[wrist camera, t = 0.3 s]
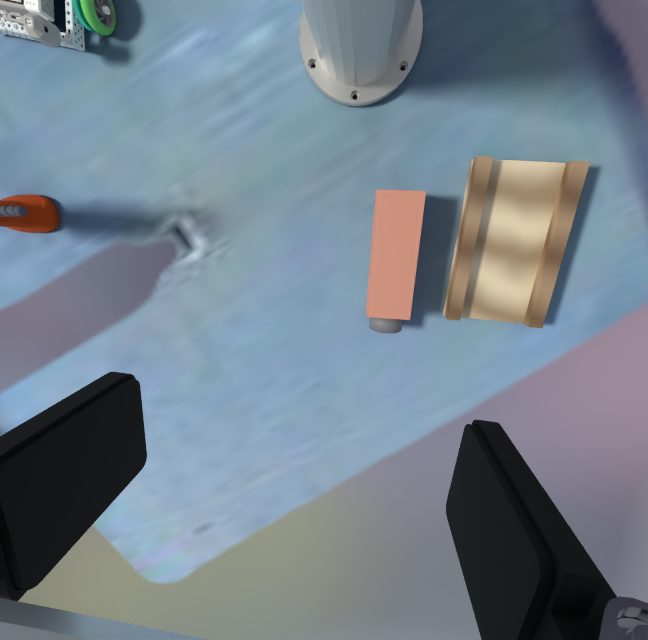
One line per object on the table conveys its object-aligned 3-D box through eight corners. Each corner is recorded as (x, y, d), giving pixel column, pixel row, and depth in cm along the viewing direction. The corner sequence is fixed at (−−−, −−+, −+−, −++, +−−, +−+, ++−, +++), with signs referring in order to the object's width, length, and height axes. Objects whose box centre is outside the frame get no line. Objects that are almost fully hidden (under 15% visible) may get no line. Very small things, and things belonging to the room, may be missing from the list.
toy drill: (131, 232, 42) (-5, 240, 28) (21, 232, 46) (-144, 239, 32) (124, 192, 41) (-24, 179, 27) (11, 195, 45) (-166, 186, 31)
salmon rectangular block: (375, 193, 39) (377, 189, 34) (418, 194, 38) (426, 191, 34) (365, 320, 44) (365, 333, 39) (403, 323, 43) (408, 336, 38)
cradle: (470, 160, 36) (478, 156, 34) (575, 165, 35) (590, 161, 33) (442, 313, 42) (447, 319, 40) (532, 321, 41) (542, 328, 39)
